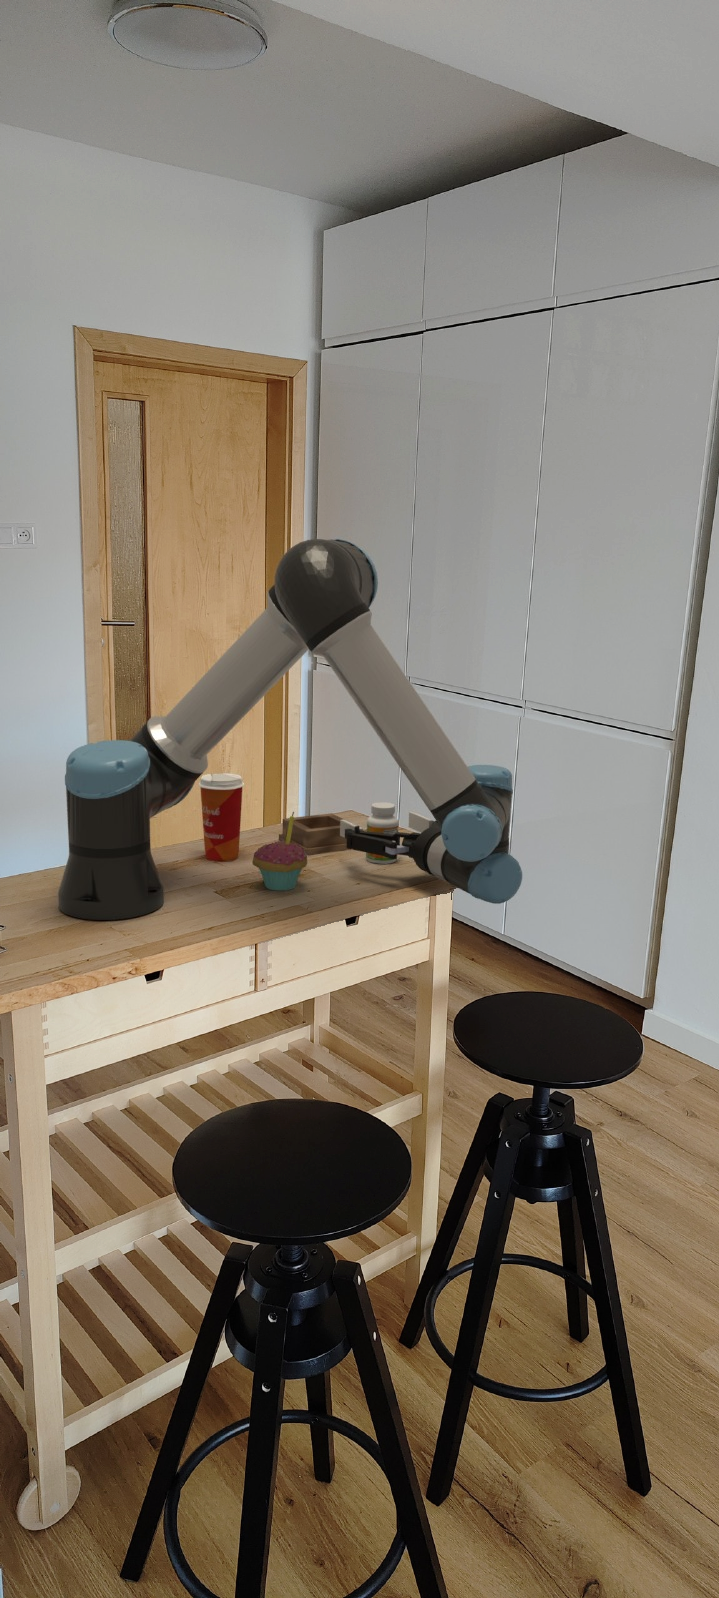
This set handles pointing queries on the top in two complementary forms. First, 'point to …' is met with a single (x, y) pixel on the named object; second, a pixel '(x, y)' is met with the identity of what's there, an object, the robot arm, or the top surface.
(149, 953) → the top surface
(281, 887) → the cupcake
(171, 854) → the top surface
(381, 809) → the supplement bottle
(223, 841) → the paper cup
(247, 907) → the top surface
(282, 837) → the socket block
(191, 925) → the top surface
